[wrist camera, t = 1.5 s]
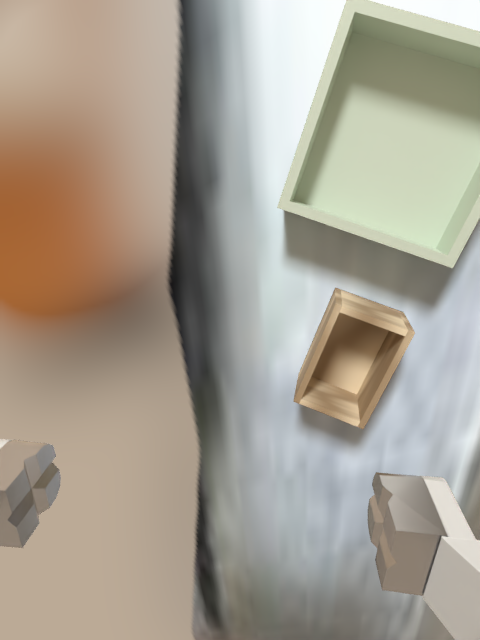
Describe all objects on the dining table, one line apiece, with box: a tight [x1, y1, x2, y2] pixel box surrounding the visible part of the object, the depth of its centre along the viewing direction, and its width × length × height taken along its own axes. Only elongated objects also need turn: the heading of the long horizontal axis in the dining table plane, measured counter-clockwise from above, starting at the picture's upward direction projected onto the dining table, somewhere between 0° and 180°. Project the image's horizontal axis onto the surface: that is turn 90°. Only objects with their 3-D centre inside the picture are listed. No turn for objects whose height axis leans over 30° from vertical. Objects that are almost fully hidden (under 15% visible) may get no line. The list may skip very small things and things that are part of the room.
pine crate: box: [294, 288, 415, 429], centre depth 32 cm, size 6×9×5 cm, turn 162°
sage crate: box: [277, 0, 480, 268], centre depth 27 cm, size 13×13×4 cm
